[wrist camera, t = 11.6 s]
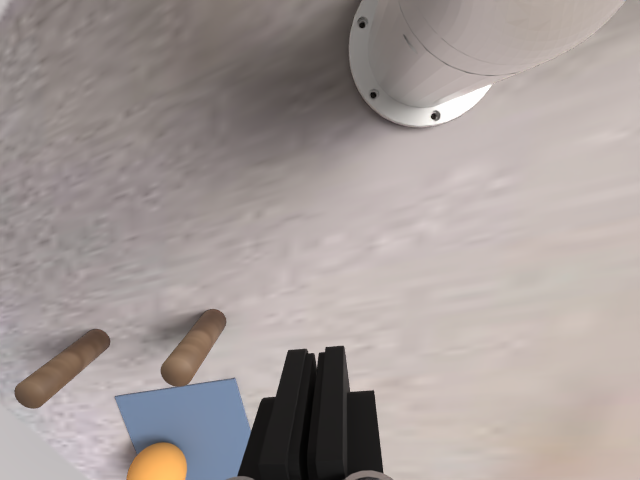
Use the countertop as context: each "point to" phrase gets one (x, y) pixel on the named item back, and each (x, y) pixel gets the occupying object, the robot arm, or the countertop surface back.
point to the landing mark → (192, 425)
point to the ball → (159, 463)
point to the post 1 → (61, 369)
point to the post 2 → (193, 349)
